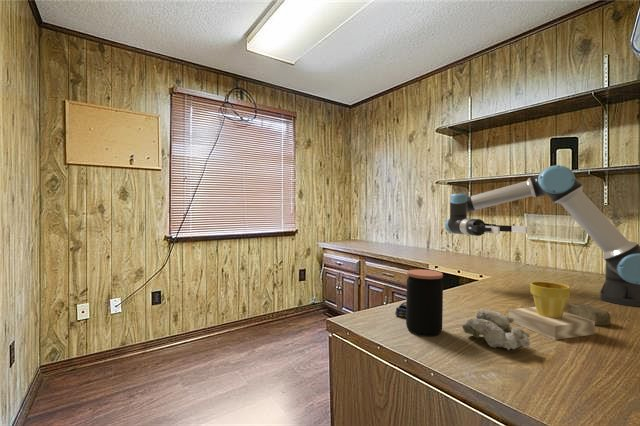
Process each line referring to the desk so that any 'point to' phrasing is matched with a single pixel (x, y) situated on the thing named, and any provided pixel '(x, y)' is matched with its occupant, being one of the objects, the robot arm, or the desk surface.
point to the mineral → (496, 330)
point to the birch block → (552, 323)
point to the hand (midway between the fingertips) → (512, 230)
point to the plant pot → (550, 298)
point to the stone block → (589, 313)
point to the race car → (401, 310)
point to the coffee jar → (424, 302)
